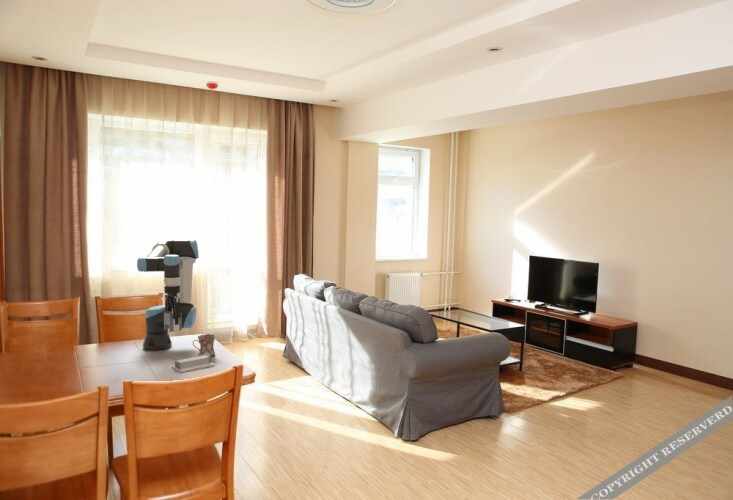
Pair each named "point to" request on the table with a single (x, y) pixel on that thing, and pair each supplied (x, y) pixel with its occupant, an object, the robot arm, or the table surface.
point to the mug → (206, 344)
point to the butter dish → (193, 363)
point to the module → (171, 321)
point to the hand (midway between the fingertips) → (172, 329)
